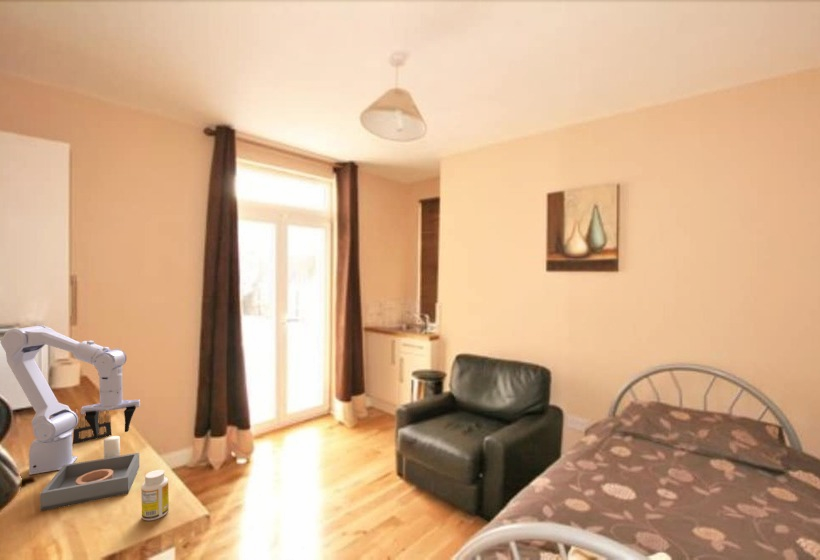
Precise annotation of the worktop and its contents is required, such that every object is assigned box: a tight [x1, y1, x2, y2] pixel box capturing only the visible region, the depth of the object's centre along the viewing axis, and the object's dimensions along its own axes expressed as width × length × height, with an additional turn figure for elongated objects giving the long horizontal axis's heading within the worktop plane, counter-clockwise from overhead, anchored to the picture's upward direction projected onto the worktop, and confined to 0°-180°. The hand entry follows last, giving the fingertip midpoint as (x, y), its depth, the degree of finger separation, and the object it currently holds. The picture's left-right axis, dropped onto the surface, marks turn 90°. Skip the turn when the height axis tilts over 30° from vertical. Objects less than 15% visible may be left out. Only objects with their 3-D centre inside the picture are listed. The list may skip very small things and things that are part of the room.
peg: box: [103, 435, 121, 458], centre depth 121 cm, size 4×4×8 cm
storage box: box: [39, 452, 140, 512], centre depth 108 cm, size 18×16×4 cm
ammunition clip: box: [72, 408, 113, 445], centre depth 140 cm, size 11×2×12 cm, turn 132°
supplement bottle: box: [140, 469, 170, 521], centre depth 96 cm, size 6×6×10 cm
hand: (111, 433), depth 121 cm, fingers open, 7 cm apart
